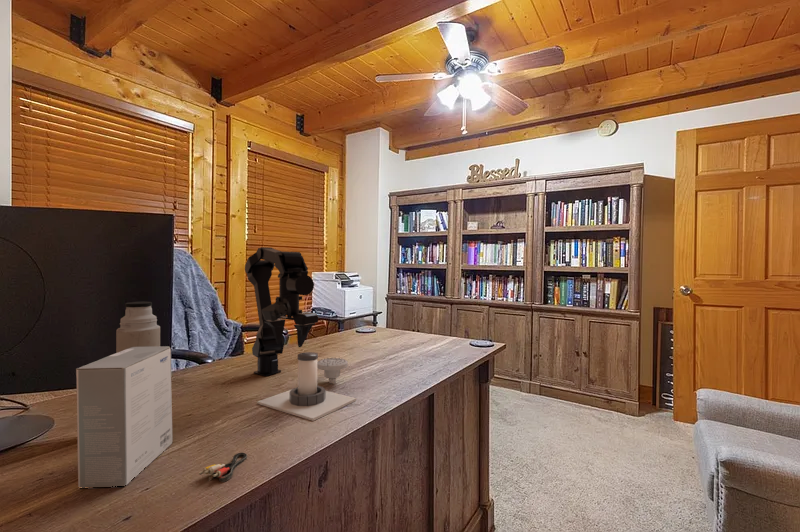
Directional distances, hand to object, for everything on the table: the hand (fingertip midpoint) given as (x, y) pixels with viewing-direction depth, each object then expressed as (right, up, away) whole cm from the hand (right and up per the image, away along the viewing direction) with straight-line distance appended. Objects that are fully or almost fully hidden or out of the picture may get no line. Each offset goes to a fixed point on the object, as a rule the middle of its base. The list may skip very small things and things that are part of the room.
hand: (289, 345), depth 115 cm
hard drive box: (-16, -13, -46) cm, 50 cm away
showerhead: (+12, -12, +3) cm, 18 cm away
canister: (+9, -12, -14) cm, 20 cm away
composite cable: (+3, -13, -47) cm, 49 cm away
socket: (+9, -12, -14) cm, 20 cm away
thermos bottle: (-24, -12, -31) cm, 41 cm away
